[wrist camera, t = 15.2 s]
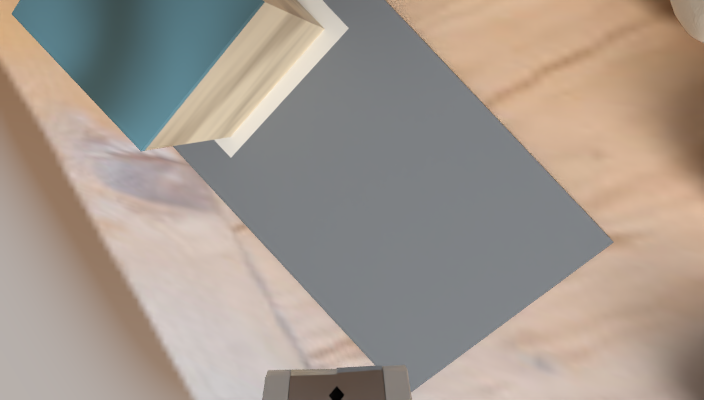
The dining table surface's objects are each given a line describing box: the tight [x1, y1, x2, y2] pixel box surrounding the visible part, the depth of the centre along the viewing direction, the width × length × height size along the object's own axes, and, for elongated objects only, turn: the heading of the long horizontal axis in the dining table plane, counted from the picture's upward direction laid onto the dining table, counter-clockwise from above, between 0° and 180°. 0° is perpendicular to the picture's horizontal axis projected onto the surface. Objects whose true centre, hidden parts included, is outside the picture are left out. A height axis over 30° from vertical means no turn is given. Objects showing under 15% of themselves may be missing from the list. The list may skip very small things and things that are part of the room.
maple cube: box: [12, 0, 324, 151], centre depth 27 cm, size 9×9×9 cm
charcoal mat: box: [173, 0, 613, 392], centre depth 31 cm, size 32×16×1 cm, turn 45°
